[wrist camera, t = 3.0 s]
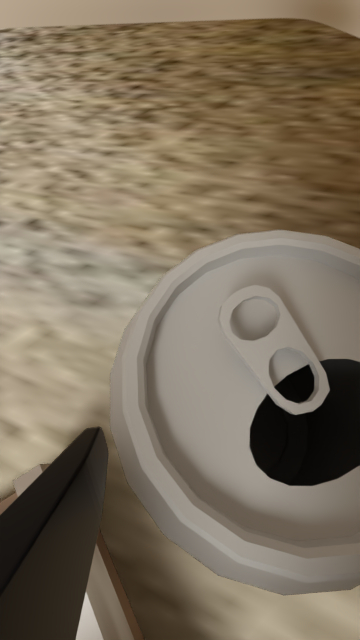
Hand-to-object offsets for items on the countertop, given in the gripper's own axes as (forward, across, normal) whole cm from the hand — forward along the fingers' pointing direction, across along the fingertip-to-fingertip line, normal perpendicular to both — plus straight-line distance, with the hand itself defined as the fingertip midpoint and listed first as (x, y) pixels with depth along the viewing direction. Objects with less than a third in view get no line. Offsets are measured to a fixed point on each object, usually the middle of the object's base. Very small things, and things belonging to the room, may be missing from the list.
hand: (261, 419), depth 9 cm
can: (+6, 0, +6) cm, 8 cm away
